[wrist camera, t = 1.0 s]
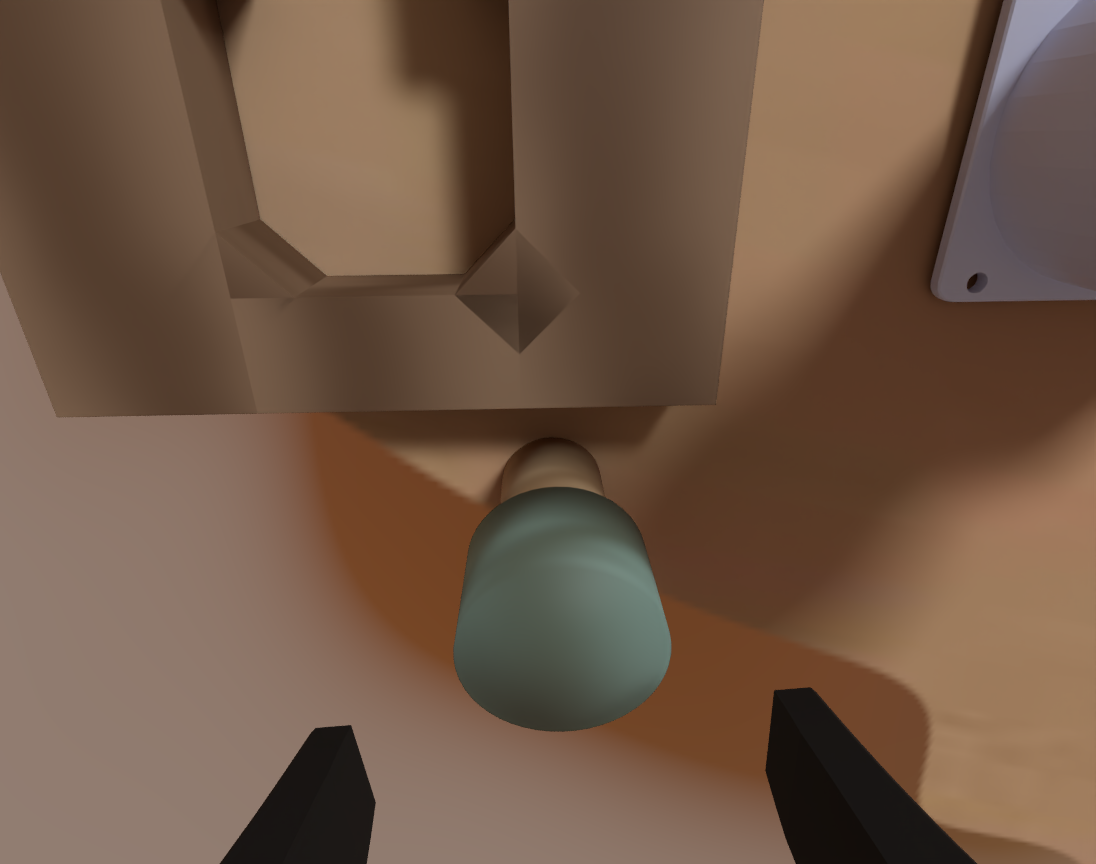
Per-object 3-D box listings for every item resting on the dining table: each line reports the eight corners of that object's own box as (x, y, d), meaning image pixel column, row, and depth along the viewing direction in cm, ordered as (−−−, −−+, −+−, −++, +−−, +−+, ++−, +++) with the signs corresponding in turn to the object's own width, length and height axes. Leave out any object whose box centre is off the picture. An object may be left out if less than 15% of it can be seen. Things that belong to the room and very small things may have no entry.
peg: (626, 414, 18) (680, 566, 11) (620, 539, 20) (663, 728, 13) (475, 417, 18) (444, 571, 11) (483, 542, 20) (461, 734, 13)
